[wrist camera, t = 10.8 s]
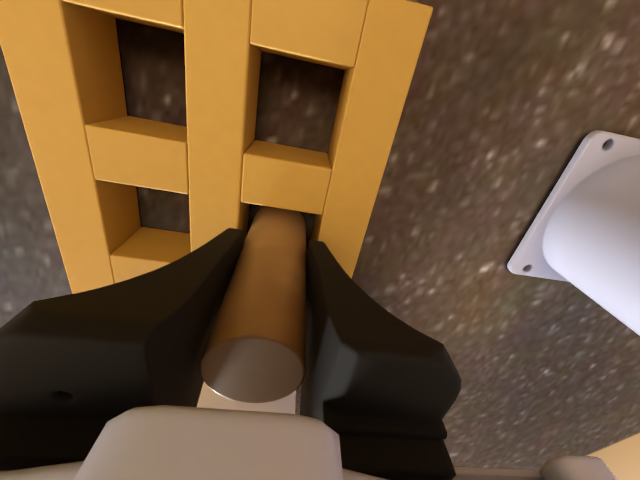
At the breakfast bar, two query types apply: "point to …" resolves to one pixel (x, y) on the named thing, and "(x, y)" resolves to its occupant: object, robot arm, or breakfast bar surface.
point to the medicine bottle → (220, 402)
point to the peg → (262, 314)
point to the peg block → (203, 121)
